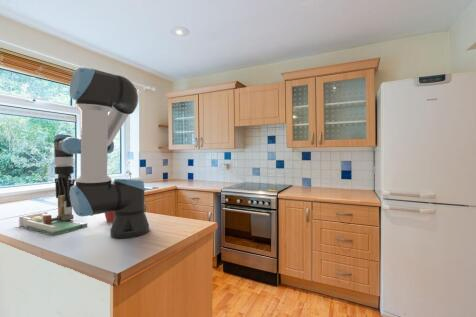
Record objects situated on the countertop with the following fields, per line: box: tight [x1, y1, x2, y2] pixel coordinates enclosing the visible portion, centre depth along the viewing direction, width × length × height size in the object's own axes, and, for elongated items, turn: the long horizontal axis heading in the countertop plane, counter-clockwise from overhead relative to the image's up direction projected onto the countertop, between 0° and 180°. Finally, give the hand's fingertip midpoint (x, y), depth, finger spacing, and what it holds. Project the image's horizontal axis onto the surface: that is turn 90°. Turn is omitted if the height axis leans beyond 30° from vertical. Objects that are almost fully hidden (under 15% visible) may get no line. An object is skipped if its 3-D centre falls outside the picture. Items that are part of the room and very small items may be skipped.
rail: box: [66, 219, 88, 229], centre depth 115 cm, size 24×2×2 cm, turn 63°
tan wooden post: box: [43, 195, 74, 224], centre depth 114 cm, size 6×11×12 cm, turn 153°
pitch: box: [18, 211, 82, 236], centre depth 110 cm, size 30×11×4 cm, turn 63°
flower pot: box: [104, 211, 115, 223], centre depth 121 cm, size 11×11×10 cm
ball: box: [32, 216, 42, 222], centre depth 115 cm, size 4×4×4 cm
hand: (65, 213), depth 117 cm, fingers closed on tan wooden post, 4 cm apart
